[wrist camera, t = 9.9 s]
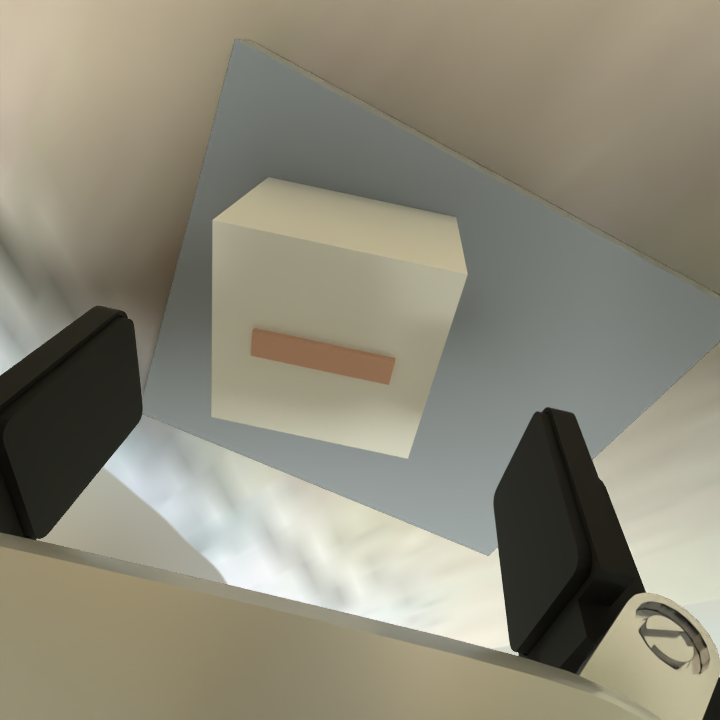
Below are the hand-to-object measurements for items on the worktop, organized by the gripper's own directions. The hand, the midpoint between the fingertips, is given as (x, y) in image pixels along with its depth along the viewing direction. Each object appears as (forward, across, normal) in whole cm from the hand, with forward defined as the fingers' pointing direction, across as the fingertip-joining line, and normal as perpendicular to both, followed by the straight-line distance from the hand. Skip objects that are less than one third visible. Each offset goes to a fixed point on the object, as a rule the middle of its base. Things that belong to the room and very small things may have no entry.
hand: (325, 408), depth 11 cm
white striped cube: (+8, +1, 0) cm, 8 cm away
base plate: (+9, -2, +4) cm, 10 cm away
